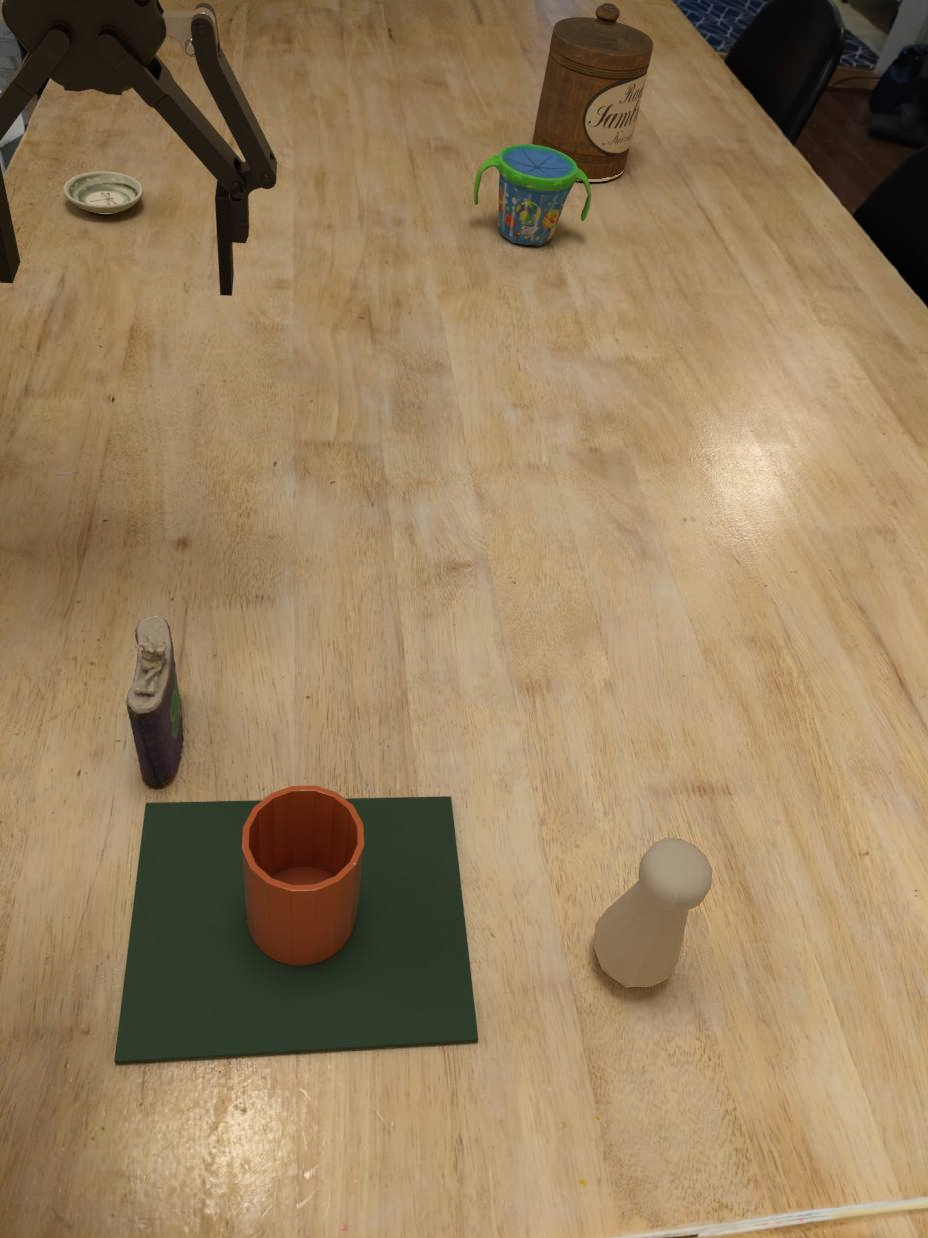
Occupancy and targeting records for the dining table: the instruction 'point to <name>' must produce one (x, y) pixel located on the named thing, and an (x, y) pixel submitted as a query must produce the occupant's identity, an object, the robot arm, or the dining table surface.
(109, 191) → the saucer
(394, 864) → the mat
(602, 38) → the wooden container
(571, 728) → the dining table surface
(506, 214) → the snack cup
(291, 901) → the cup
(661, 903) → the salt shaker
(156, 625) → the flask
